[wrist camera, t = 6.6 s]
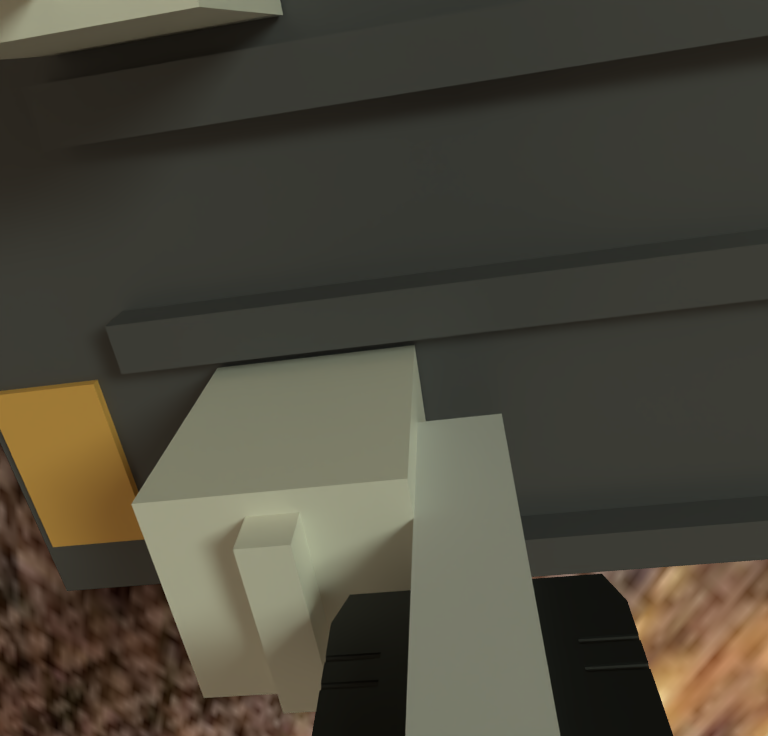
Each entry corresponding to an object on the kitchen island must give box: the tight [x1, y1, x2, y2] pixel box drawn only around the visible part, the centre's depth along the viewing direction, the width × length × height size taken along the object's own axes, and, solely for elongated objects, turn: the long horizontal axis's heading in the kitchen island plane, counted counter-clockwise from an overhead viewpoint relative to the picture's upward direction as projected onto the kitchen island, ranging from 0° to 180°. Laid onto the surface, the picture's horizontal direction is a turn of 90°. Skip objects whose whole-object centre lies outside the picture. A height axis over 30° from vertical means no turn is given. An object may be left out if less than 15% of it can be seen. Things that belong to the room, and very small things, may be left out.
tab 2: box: [131, 345, 426, 713], centre depth 12 cm, size 4×4×5 cm
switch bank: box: [0, 0, 768, 591], centre depth 12 cm, size 17×28×3 cm, turn 99°
